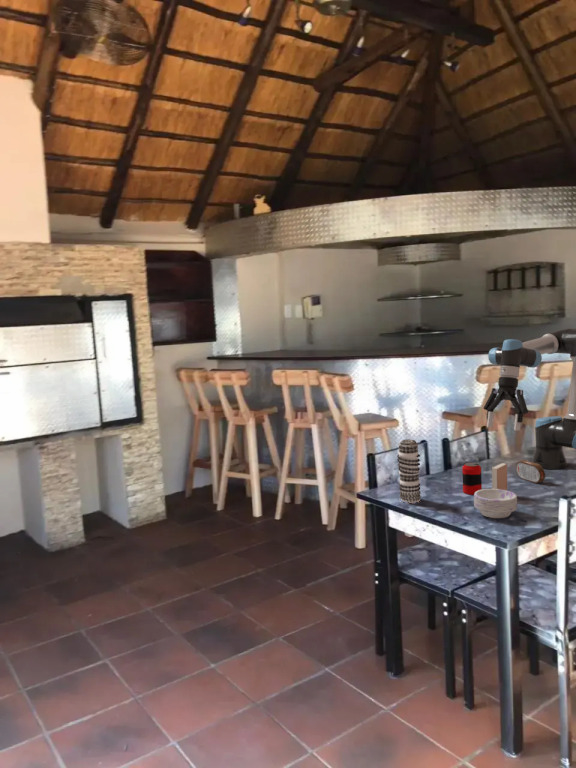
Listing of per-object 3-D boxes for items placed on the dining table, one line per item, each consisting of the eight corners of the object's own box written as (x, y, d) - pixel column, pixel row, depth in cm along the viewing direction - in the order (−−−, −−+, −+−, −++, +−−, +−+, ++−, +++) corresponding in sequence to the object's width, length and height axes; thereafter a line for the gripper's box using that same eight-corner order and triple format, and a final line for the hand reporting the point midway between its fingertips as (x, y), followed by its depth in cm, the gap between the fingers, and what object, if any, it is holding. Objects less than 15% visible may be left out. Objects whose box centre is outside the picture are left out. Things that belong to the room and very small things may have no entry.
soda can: (482, 495, 251) (482, 466, 249) (463, 495, 252) (462, 466, 251) (480, 489, 258) (480, 462, 257) (462, 489, 260) (461, 462, 258)
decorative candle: (409, 495, 256) (407, 437, 253) (426, 500, 249) (424, 440, 246) (394, 500, 251) (391, 440, 248) (410, 505, 244) (408, 444, 241)
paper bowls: (523, 512, 228) (523, 491, 227) (507, 524, 217) (507, 502, 216) (484, 505, 238) (484, 485, 237) (467, 516, 227) (466, 496, 226)
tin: (545, 484, 260) (545, 465, 259) (540, 485, 259) (539, 466, 258) (520, 476, 274) (520, 458, 273) (514, 477, 273) (514, 459, 272)
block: (492, 499, 245) (491, 468, 243) (502, 493, 251) (501, 463, 249) (497, 500, 243) (497, 468, 241) (507, 494, 249) (507, 463, 248)
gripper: (478, 375, 258) (472, 425, 258) (528, 376, 237) (522, 431, 236) (490, 377, 262) (485, 426, 261) (541, 379, 241) (535, 432, 240)
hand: (502, 429), depth 249 cm, fingers open, 13 cm apart
